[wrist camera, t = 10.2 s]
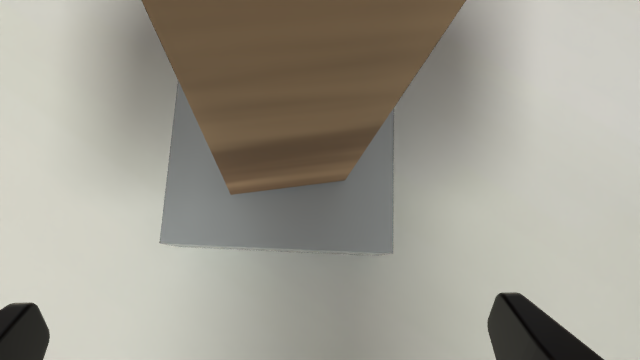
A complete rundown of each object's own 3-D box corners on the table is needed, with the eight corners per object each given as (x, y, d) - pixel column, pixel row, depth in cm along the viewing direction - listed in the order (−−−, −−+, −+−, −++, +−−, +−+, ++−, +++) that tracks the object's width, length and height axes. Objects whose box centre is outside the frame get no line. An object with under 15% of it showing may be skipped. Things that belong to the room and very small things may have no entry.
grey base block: (376, 255, 20) (392, 253, 17) (182, 247, 20) (159, 243, 16) (378, 78, 22) (393, 43, 19) (201, 66, 22) (184, 29, 18)
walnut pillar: (344, 180, 17) (493, -42, 6) (230, 194, 17) (131, -22, 5) (327, 77, 18) (423, -292, 7) (219, 87, 18) (113, -302, 6)
